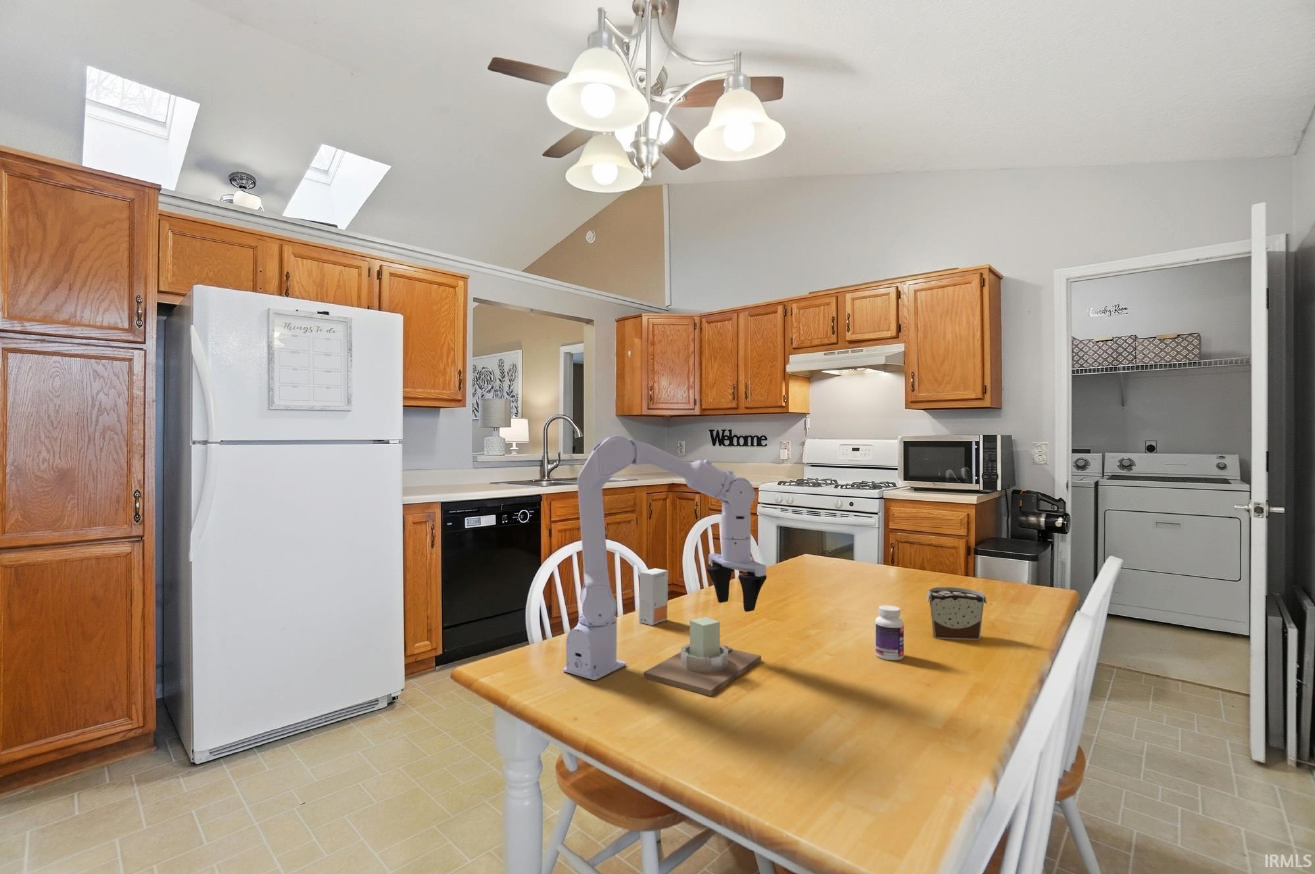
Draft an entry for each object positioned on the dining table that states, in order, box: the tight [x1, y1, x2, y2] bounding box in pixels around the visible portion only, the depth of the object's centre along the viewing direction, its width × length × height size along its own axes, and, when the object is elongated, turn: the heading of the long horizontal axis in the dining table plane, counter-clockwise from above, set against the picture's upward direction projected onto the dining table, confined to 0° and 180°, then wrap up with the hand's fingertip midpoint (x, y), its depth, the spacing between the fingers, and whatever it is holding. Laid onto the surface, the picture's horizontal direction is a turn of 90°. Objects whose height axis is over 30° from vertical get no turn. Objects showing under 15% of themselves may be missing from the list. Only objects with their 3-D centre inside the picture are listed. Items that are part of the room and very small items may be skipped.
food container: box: [926, 586, 987, 641], centre depth 135 cm, size 12×6×10 cm, turn 84°
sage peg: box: [689, 616, 721, 657], centre depth 115 cm, size 4×4×8 cm
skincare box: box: [638, 567, 669, 626], centre depth 145 cm, size 6×4×12 cm
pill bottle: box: [874, 604, 905, 661], centre depth 122 cm, size 5×5×10 cm
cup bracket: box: [642, 643, 762, 697], centre depth 115 cm, size 20×14×4 cm
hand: (735, 606), depth 120 cm, fingers open, 7 cm apart
